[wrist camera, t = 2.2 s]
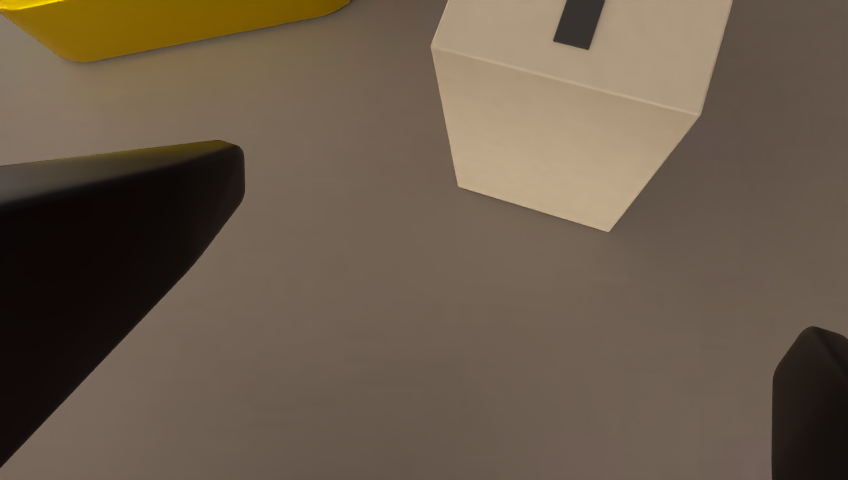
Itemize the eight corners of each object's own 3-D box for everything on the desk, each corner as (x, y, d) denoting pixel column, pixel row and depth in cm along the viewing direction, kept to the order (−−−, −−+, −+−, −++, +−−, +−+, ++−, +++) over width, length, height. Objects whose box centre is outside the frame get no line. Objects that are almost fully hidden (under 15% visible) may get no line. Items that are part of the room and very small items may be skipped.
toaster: (609, 233, 22) (702, 114, 12) (457, 186, 23) (429, 44, 13) (649, 98, 23) (766, -112, 13) (502, 61, 24) (507, -159, 14)
